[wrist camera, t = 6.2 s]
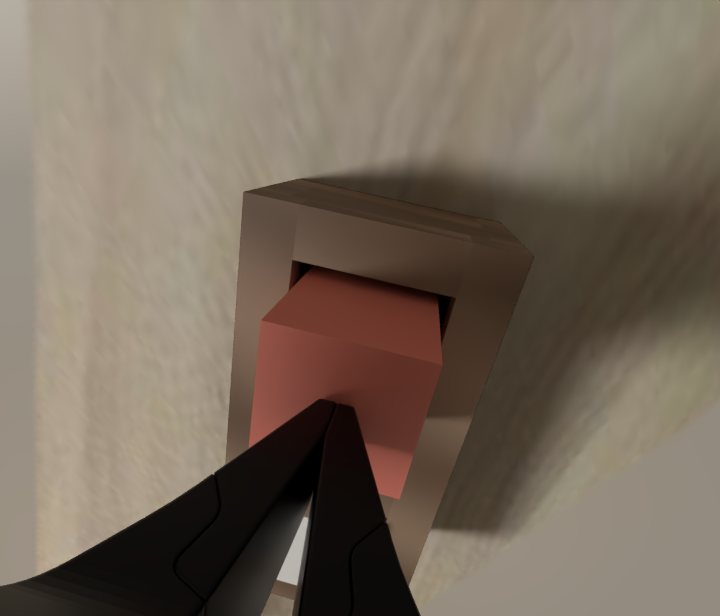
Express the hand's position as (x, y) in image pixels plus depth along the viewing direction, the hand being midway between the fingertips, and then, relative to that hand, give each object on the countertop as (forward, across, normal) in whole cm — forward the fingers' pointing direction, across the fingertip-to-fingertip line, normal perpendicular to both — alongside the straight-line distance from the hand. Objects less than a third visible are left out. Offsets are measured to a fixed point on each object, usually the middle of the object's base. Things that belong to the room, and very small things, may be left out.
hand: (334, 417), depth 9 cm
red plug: (+5, 0, 0) cm, 5 cm away
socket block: (+8, 0, +4) cm, 9 cm away
